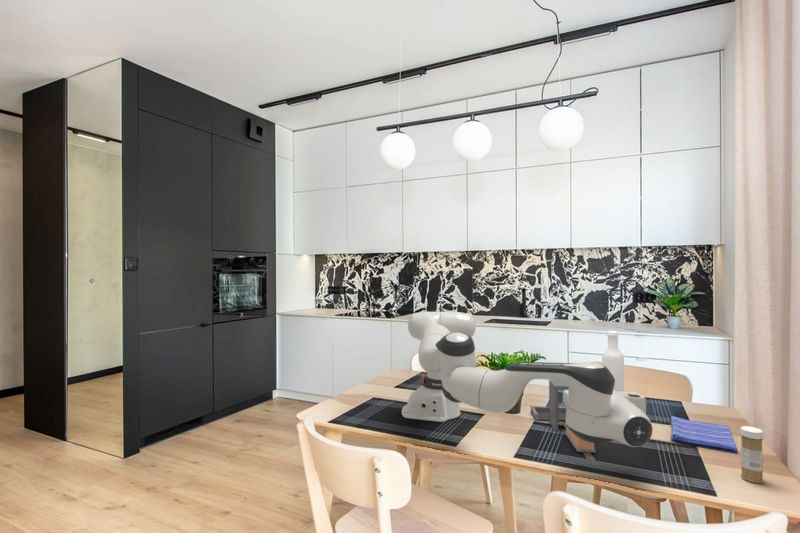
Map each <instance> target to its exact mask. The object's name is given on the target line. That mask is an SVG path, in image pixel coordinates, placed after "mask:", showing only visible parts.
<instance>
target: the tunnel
mask: <svg viewBox="0 0 800 533" xmlns="http://www.w3.org/2000/svg"><path fill="white" fill-rule="evenodd" d="M548 387H549V388H548V393H549V394H548V396H549V398H548V404H549V405H548V407H549V421H548V422H549V424H550V425H551V427H552V428H553V430H554V431H559V422H558V407H559V391H564V390H569V383H568V382H567V381H565V380H548Z"/></svg>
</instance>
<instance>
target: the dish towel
mask: <svg viewBox="0 0 800 533" xmlns="http://www.w3.org/2000/svg"><path fill="white" fill-rule="evenodd" d="M670 426H671V431H670V432H671V433H670V441H671V442H674V443H677V444H684V445H689V446H695V447H699V448H704V449H711V450H716V451H720V452H724V453H725V452H726V453H732V454H737V453H738V447H737V445H736V442H735V440H734V437H733V434H732V432H731V429H730V426H729V425H725V424H718V423H713V422H712V423H709V422H704V421H698V420H697V421H696V420H690V419H689V420H688V419H686V418H682V417H678V416H675V415H671V422H670Z"/></svg>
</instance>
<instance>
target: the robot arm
mask: <svg viewBox="0 0 800 533" xmlns="http://www.w3.org/2000/svg"><path fill="white" fill-rule="evenodd" d="M407 329H408V333H409V334H410V336H411V337H412V338H413V339H416V340H419V341H420V343H419V347H418V363H419V365H420V367H421V368H422V370H424V371H425V372H426V374H422V375H421V378H420V379H421V386H420V387H418V388H417V389H415V390H414V391H413V392H411V393H410V395H409V397H408V400H407V404H405V405H403V407H402V408H401V415H402V417H403V418H405V419H410V420H411V419H412V420H421V421H430V422H440V423H442V422H446V421H448V420H451V419H456V418H458V417H459V416H460V415H461V410H460V406H459V404H464V405H467V406H470V407H472V408H475V409H477V410H481V411H485V412H489V413H494V414H503V413H506V412H509V411H510V410H512V408H513V407H515V405H516V404H517V403H518V401H519V399H520V398H521V397H522V395H523V392H524V391H525V388H526V387H527V385H528V384H529V383H530V382H531V381H533V380H546V381H547V380H548V381H549V380H565V381H567V382H568V383H569V390H562V402H563V404H565V406H566V405H567V409H566V422H565V424H566V426H567V427H568V429H569V430H570V431H571V432H572V433H573V434H574V435H576V436H577V437H578V438H580V439H582V440H584V441H587V442H592V443H594V444H606V443H610V442H614V441H618V442H619V443H622V444H624V445H626V446H629V447H631V448H632V447H633V448H639V447H643V446H645V445H646V444H648V442H650V440H651V438H652V436H653V424H652V422H651V420H650V418H649V417H648V415H647V413H646V412H647V402H646V401H647V400H646V396H643V395H642V394H640V393H638V392H635V391H624V392H618V391H615V390H613V389H614V384H615V379H614V377H613V375H612V374H611V372H610V371H609V370H608V369H607V367H606V366H604V365H602V363H601V364H600V363H598V362H592V361H587V362H585V361H584V362H583V361H582V362H573V363H572V362H571V363H570V362H545V361H544V362H542V361H541V362H540V361H538V362H537V361H536V362H535V361H532V362H531V361H519V362H517V361H516V362H512V363H509V364H507V365H506V367H505V368H504V369H498V370H492V369H486V368H480V367H477V362H476V361H477V360H476V352H475V350H476V346H475V342H474V339H473V336H474V334H475V333H476V329H477V328H476V322H475V319H474V318H473V316H472V315H471V314H469V313H465V312H461V311H460V312H459V311H419V312H415V313H412V314H411V316H410V317H409V319H408V322H407Z"/></svg>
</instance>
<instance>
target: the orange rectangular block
mask: <svg viewBox="0 0 800 533" xmlns="http://www.w3.org/2000/svg"><path fill="white" fill-rule="evenodd" d="M565 407H566V409H567V405H566V404H565ZM564 434H565V436H566V437H567V439H568V440H569V441H570V443H571V444H572V446H573V447H574V449H575V450H576V451H577V452H579V453H583V452H590V453H596V452H597V451H596V449H595V443H592V442H587V441H584V440H582V439H580V438H578V437H577V436H576V435H574V434H573V433H572V432H571V431H570V430H569V429H568V427H567V426H566V428H565V431H564Z"/></svg>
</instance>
